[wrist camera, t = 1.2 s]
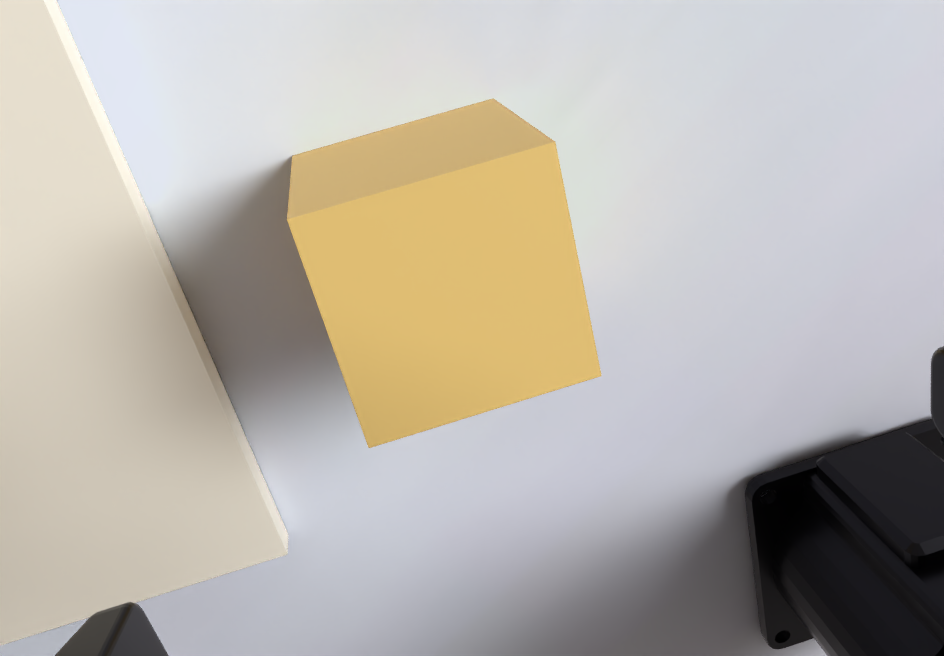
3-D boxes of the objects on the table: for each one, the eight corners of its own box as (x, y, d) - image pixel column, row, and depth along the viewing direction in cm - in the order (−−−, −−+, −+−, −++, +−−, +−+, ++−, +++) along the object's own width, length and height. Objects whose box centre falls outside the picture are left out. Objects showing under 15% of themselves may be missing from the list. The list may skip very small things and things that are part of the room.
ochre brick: (534, 283, 20) (601, 375, 15) (354, 337, 19) (369, 448, 15) (492, 97, 18) (554, 141, 13) (292, 155, 18) (286, 219, 13)
